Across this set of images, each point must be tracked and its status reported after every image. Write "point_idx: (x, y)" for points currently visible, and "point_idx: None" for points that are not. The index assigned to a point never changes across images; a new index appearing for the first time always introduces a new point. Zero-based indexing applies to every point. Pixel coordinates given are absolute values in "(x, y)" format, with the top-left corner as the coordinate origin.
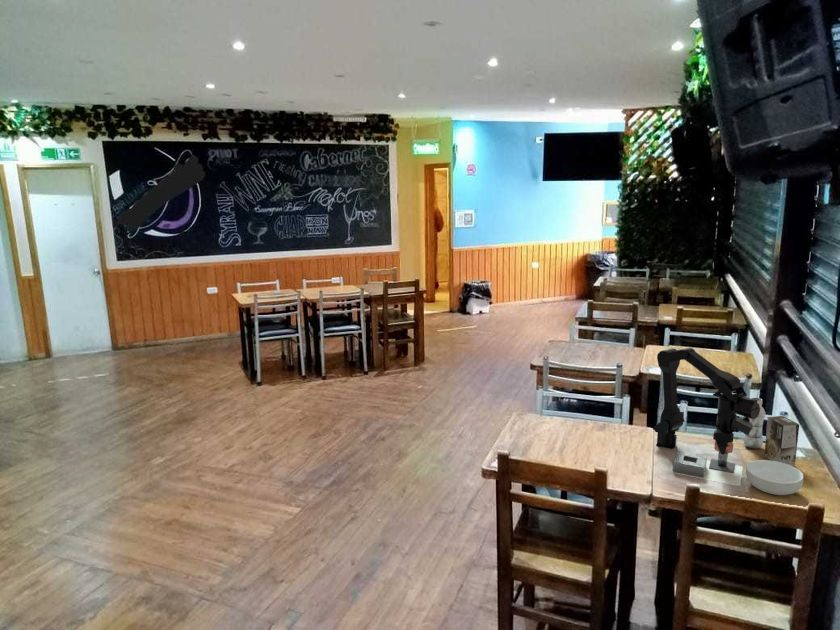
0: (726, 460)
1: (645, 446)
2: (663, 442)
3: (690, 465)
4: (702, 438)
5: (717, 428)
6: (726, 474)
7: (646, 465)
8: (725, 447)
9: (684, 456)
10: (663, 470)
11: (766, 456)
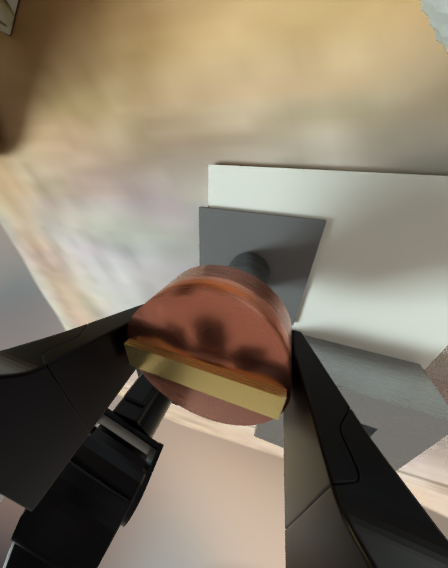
0: (255, 271)
1: (189, 416)
2: (168, 407)
3: (413, 453)
4: (57, 294)
5: (32, 503)
6: (352, 259)
7: None
8: (344, 410)
9: None
10: None
11: (4, 8)
